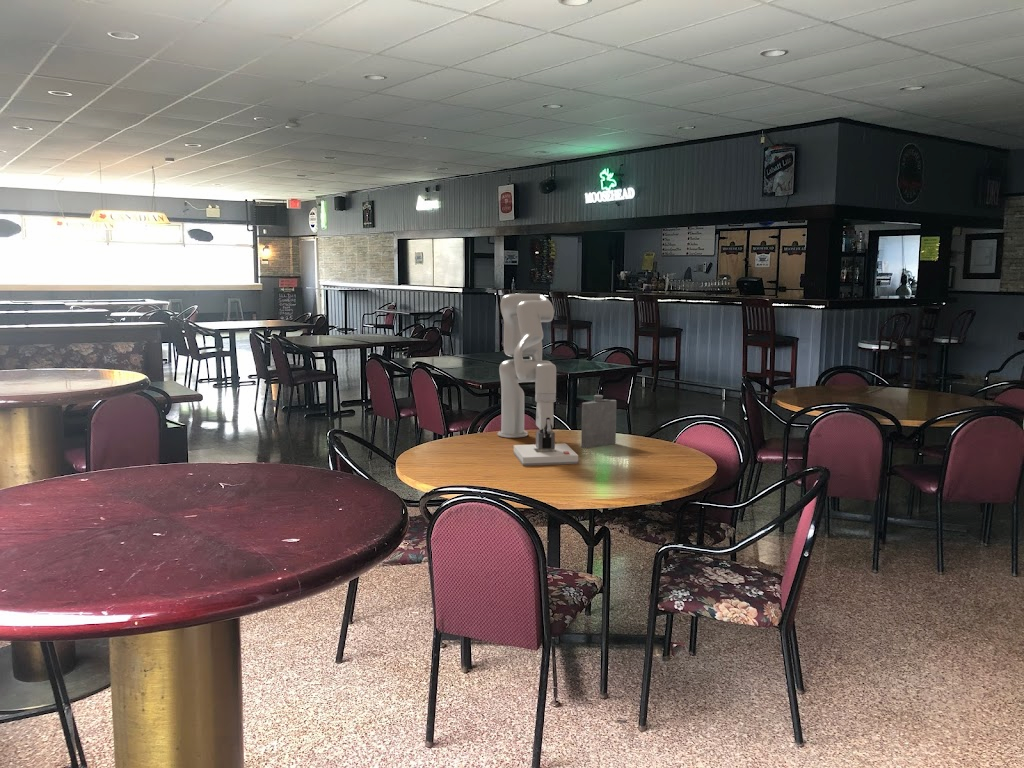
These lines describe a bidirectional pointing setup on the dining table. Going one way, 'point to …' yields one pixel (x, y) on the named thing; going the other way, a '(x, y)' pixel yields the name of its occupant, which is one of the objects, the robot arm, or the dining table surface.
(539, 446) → the plug
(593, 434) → the hip flask
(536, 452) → the socket
